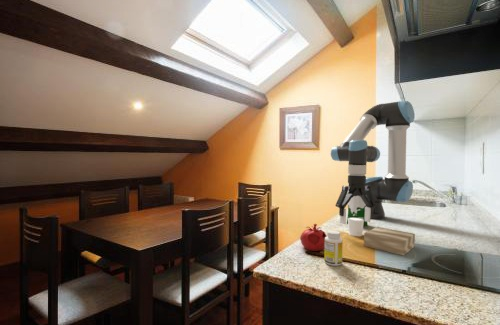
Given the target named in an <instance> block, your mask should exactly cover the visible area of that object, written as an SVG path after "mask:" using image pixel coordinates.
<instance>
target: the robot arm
mask: <svg viewBox="0 0 500 325" xmlns="http://www.w3.org/2000/svg"><path fill="white" fill-rule="evenodd" d="M414 121H415V109H414V107H413V104H412V103H411V102H410V101H407V100H404V101H403V100H399V101H393V102H386V103H379V104H376V105H374V106H372V107H370V108H369V109H368V110H366V111H365V112H364V113H363V114H362V115H361V116H360V118H359V122H358V123H357V124H356V125H355V127H354V128H353V129H352V131H351V132H350V133H349V134H348V136H346V137H345V139H344V140H343V141H342V143H340V145H336V146H333V147H332V148H331V150H330V157H331V159H332V160H333V161H338V162H348V167H347V174H348V175H347V183H348V185H342V186H341V191H340V194H339V197H338V199H337V201H336V203H335V207H337V208H338V210H339V212H338V214H339V216H340V218H339V219H340V220H339V223H340V224H342V225H347V208H346V207H347V206H348V203H349V201H350V200H351V198H352V197H354V196H360V197H361V198H362V200H363V201H364V203H365V204H366V206H367V207H365V221H366V222H367V223H371V219H372V220H374V219H375V220H381V219H382V218H383V219H385V217H386V213H385V210H384V207H383V201H389V202H390V201H391V202H396V203H407V202H408V201H409V200H410V199H411V197H412V194H413V189H414V185H413V182H412V181H411V180H409V178H410V177H409V176H408V175H407V174H406V173H407V171H406V169H407V168H406V166H407V130H408V129H409V128H410V127H411V124H412V123H413V122H414ZM382 125H383V126H384V125H385V128H386V130H387V131H388V144H387V147H388V148H387V149H388V150H387V151H388V152H387V174H386V175H385V176H384V177H383V176H372V177H369V176H368V177H367V176H366V175H367V163H375V162H376V161H378V160H379V159H380V157H381V151H380V149H379V148H378V147H377V146H374V145H368V142H367V140H365V138H366V137H367V136H368V135H369V133H370V132H371V131H372V130H373V129H375V128H376V127H377V126H382ZM364 190H365V192H364ZM347 192H348V193H347ZM365 193H366V194H365ZM370 218H371V219H370ZM383 219H382V220H383Z"/></svg>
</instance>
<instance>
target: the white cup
mask: <svg viewBox="0 0 500 325" xmlns="http://www.w3.org/2000/svg"><path fill="white" fill-rule="evenodd" d="M347 218H348V217H347ZM363 225H364V219H361V218H348V224H347V228H348V235H349V236H354V237H362V236H363V232H364V231H363V230H364V226H363Z"/></svg>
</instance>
